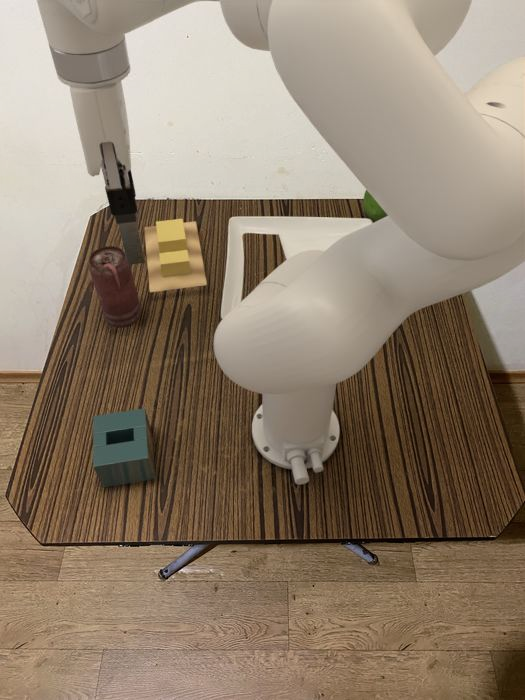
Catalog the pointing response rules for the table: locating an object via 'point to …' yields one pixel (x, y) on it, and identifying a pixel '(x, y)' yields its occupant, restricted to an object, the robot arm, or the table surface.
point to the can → (115, 286)
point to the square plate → (294, 240)
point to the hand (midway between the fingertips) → (123, 204)
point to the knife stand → (123, 448)
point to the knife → (130, 237)
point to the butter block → (171, 235)
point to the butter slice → (174, 263)
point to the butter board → (176, 281)
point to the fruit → (372, 208)
